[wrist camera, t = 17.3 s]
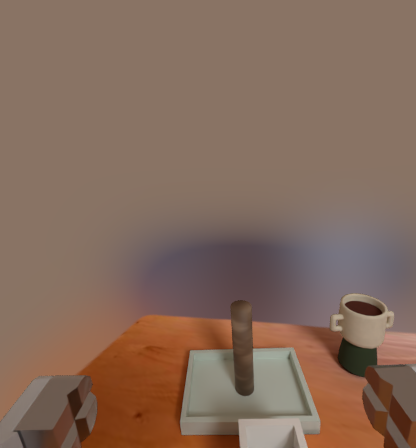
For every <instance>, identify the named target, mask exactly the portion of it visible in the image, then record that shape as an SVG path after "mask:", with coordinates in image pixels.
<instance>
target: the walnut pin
mask: <svg viewBox="0 0 416 448" xmlns="http://www.w3.org/2000/svg"><path fill="white" fill-rule="evenodd" d="M231 323H232V341H233V358H234V375H235V389H236V392H237V393H238V394H240V395H242V396H249V395H251V394H252V393H253V391H254V369H253V338H252V307H251V304H250V303H249V302H247V301H243V300H240V301H235V302H233V303H232V304H231Z"/></svg>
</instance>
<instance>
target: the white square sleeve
mask: <svg viewBox="0 0 416 448" xmlns="http://www.w3.org/2000/svg"><path fill="white" fill-rule="evenodd" d="M238 425H239V445H240V448H308V447H307V444H306V441H305V437H304V434H303V430H302V427H301V423H300V420H299V418H285V419H238Z"/></svg>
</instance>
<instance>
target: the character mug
mask: <svg viewBox="0 0 416 448" xmlns="http://www.w3.org/2000/svg"><path fill="white" fill-rule="evenodd" d="M336 320H338V325H336ZM393 321H394V313H393V312H391V311H388V308H387V307H386V305H385V304H384V303H383V302H381V301H380V300H378V299H376V298H373V297H371V296H368V295H364V294H357V293H355V294H353V293H352V294H347V295H345V296H343V297H342V298H341V302H340V309H339V314H333V315H331V317H330V330H331V331H334V332H336V331H340V333H341V335H342V336H343V339H342V343H341V346H340V349H339V354H338V360H339V362H340V363H341V364H342V366H343V367H344V368H345V369H347V370H348V371H350V372H351V373H353V374H355V375H358V376H361V377H365V370H366V368H367V367H368V366H377V347H379V346H380V345H381V344H382V343H383V341H384V336H385V329H386V328H391V327H392V326H393Z"/></svg>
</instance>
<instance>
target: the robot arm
mask: <svg viewBox="0 0 416 448" xmlns="http://www.w3.org/2000/svg"><path fill="white" fill-rule="evenodd" d="M365 378H366V380H367V381H368V384H367V385H366V386H365V387H364V388H363V395H362V400H363V404H364V409H365V412H366V414H367V417H368V419H369V421H370V423H371V425H372V427H373V428H374V429H375V430H376V431H378V432H379V433H380V434H381V435H383V436H384V448H416V364H405V365H403V364H399V365H377V366H368V367H367V368H366V370H365ZM92 385H93V384H92V381H91V377H90V376H86V375H79V376H39V377H37V378H35V379H34V380H33V381H32V382H31V383H30V385H29V386H28V387H27V389H26V390H25V391H24V392H23V393H22V395H21V396H20V397H19V399H18V400H17V401H16V402H15V404H14V405H13V406H12V407H11V409H10V410H9V411H8V413H7V414H6V415H5V416H4V418H3V419H2V420H1V421H0V448H82V446H81V442H82V441H84V440H85V439H86V438H87V437H88V436H89V435H90V433H91V431H92V429H93V426H94V424H95V420H96V415H97V400H96V396H95V395H94V394H92V393H91V392H90V389H91V387H92Z"/></svg>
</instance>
